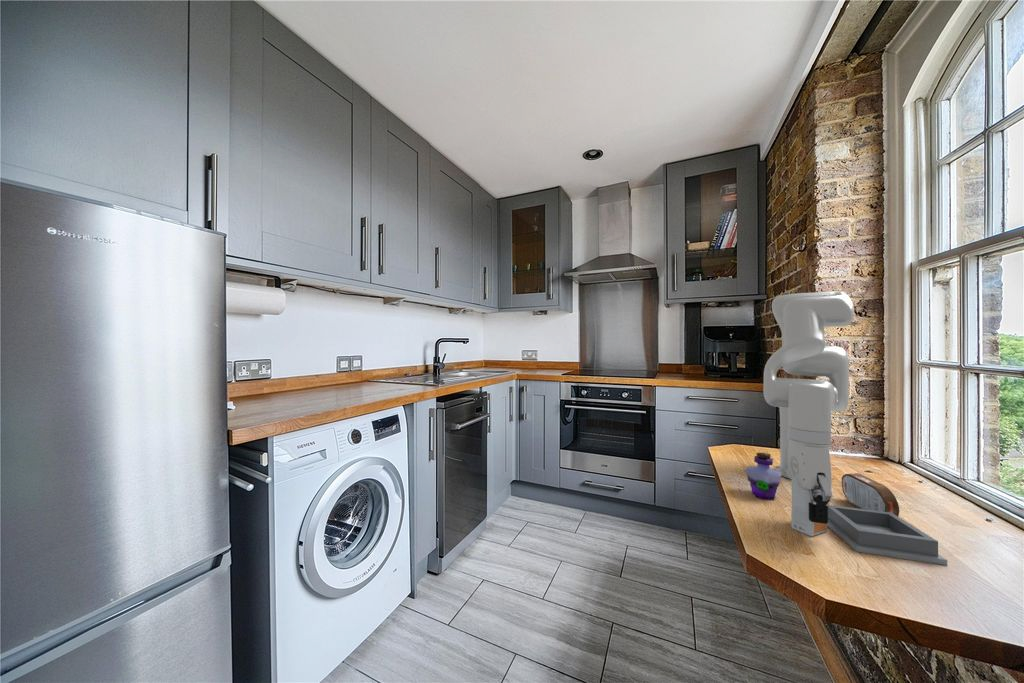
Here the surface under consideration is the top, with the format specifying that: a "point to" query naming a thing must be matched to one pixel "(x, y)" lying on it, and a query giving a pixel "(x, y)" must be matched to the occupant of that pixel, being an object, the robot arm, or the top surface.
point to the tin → (868, 494)
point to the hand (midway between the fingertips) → (809, 513)
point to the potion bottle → (763, 477)
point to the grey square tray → (882, 534)
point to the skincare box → (803, 511)
